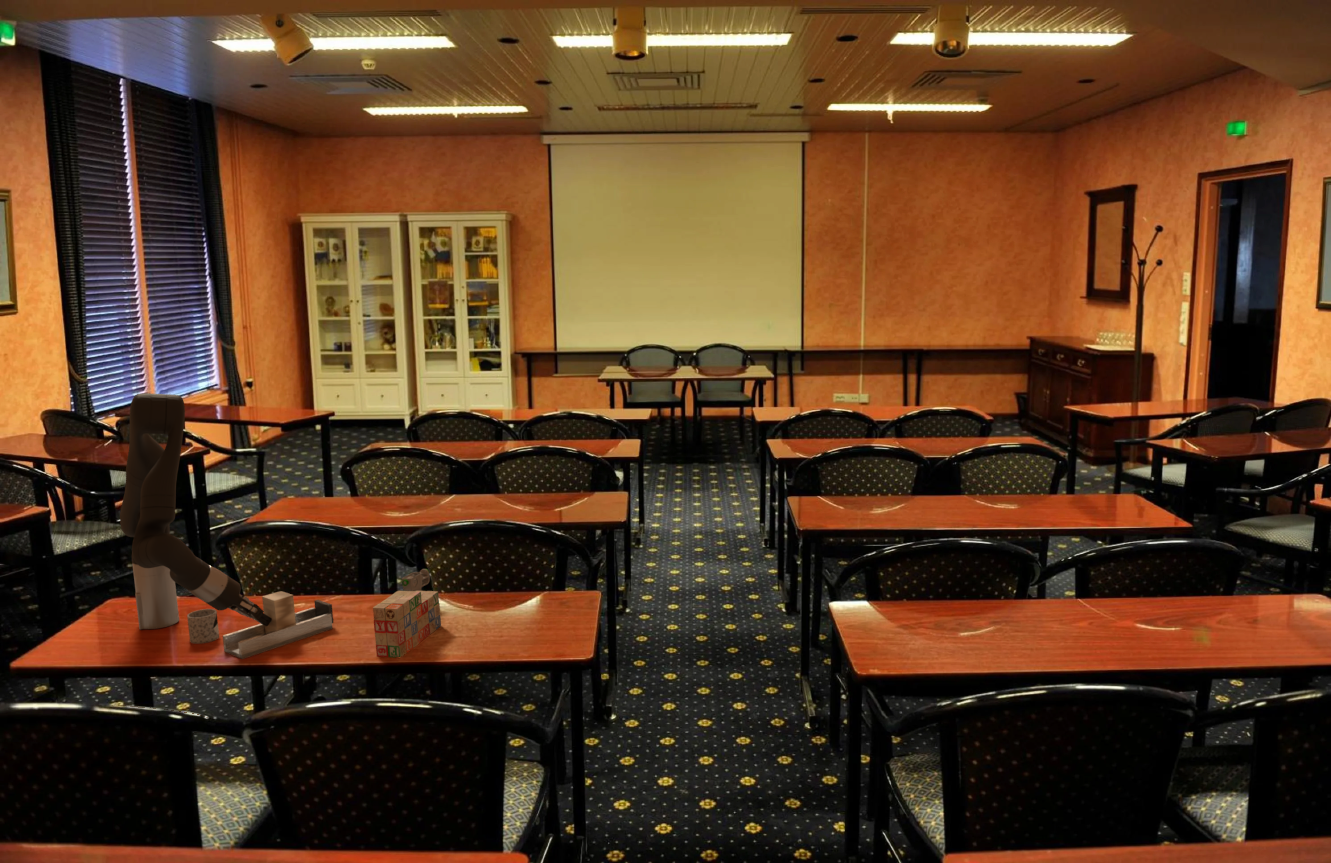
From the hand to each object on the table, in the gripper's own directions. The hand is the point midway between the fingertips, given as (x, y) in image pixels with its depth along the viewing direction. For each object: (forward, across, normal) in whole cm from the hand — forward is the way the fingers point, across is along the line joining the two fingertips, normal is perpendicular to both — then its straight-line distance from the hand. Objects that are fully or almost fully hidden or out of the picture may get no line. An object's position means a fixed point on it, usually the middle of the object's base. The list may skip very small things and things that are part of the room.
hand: (268, 622), depth 238 cm
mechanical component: (+30, -11, -22) cm, 38 cm away
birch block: (+5, 0, +1) cm, 5 cm away
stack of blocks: (+19, -28, -11) cm, 35 cm away
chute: (+6, 0, +2) cm, 6 cm away
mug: (-1, +18, +9) cm, 21 cm away
